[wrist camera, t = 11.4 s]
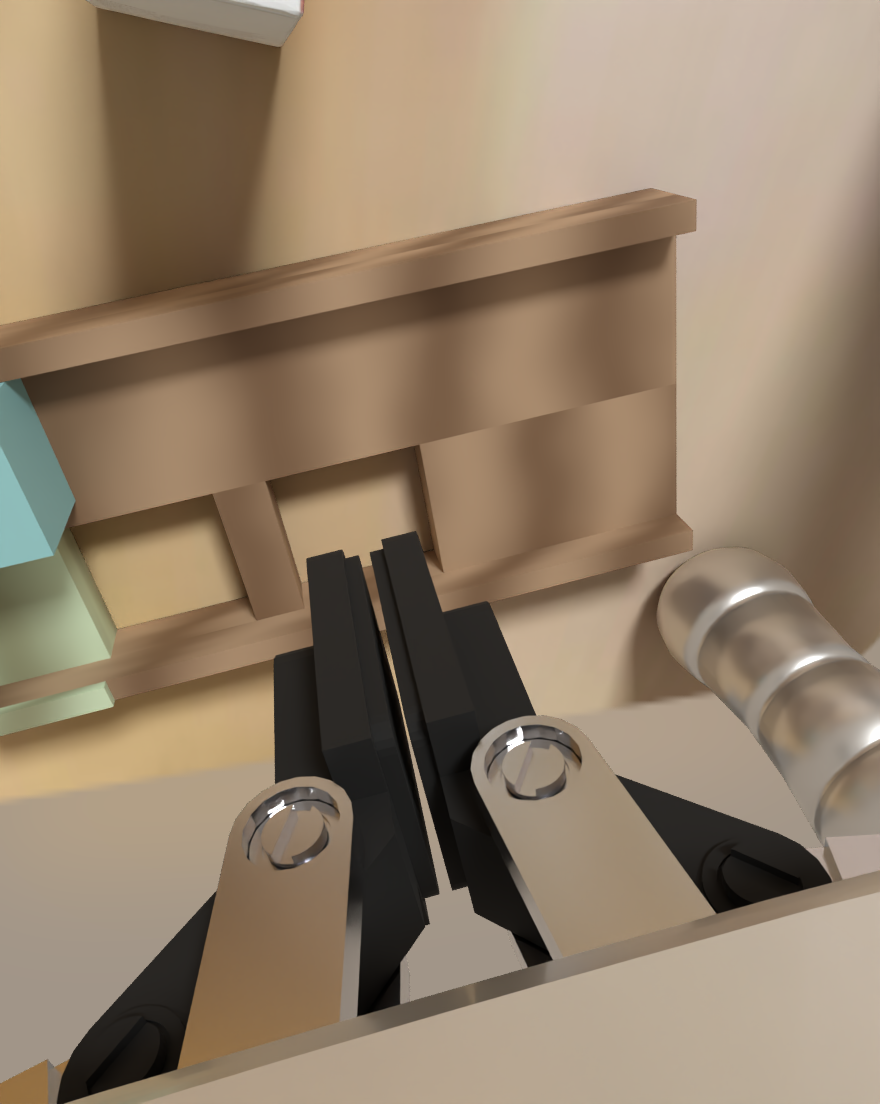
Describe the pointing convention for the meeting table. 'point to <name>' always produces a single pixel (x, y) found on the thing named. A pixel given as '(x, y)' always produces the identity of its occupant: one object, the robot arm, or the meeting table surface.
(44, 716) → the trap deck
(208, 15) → the small box
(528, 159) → the meeting table surface
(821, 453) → the meeting table surface
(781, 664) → the plastic bottle
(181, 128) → the meeting table surface
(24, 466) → the block
